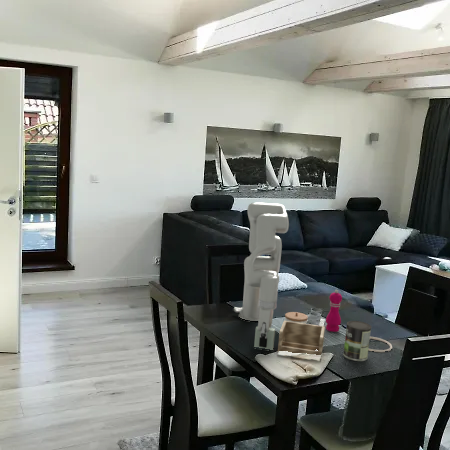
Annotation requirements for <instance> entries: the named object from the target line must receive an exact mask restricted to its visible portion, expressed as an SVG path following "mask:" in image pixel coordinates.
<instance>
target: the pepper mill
mask: <svg viewBox="0 0 450 450" xmlns="http://www.w3.org/2000/svg"><path fill="white" fill-rule="evenodd" d="M328 299H329V301H330V302H329V306H330V309H329V312H328V314H327V316H326V318H325V323H326V325H325V330H326V331H328V332H332V333H334V332H335V333H336V332H339V331H340V325H341V323H342V318H341V315H340V312H339V310H340V307H341V302H342V301H343V296H342V295H341V293H339V290H338V289H335V290H334V292H331V293H330V295H329V298H328Z"/></svg>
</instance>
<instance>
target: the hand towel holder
mask: <svg viewBox="0 0 450 450" xmlns="http://www.w3.org/2000/svg"><path fill="white" fill-rule="evenodd" d="M370 340H376V341H378V342H383V343H384V344H386V343H387V344H386V345H387V346H389V348H387V349H384V350H383V349H372V348H368V352H372V351H374V352H373V353H386V352H385V351H388V352H390V351H392V350H391V349H393V346H392V343H390V342H389V341H387V340H385V339H383V338H380V337H376V336H375V337H374V336H370Z"/></svg>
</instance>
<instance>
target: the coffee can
mask: <svg viewBox="0 0 450 450" xmlns="http://www.w3.org/2000/svg"><path fill="white" fill-rule="evenodd" d="M345 325H346V327H345V328H346V329H345V336H344V337H345V338H344V345H343V352H342V355H343V356H344V357H345V358H346V359H347V360H351V361H356V362H364V361H366V360H368V357H369V351H368V349H370V348H369V347H370V340H371V339H370V337H371V330H372V325H371V324H369V323H368V322H364V321H362V320H361V321H359V320H349V321H347V322H346V324H345Z"/></svg>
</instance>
